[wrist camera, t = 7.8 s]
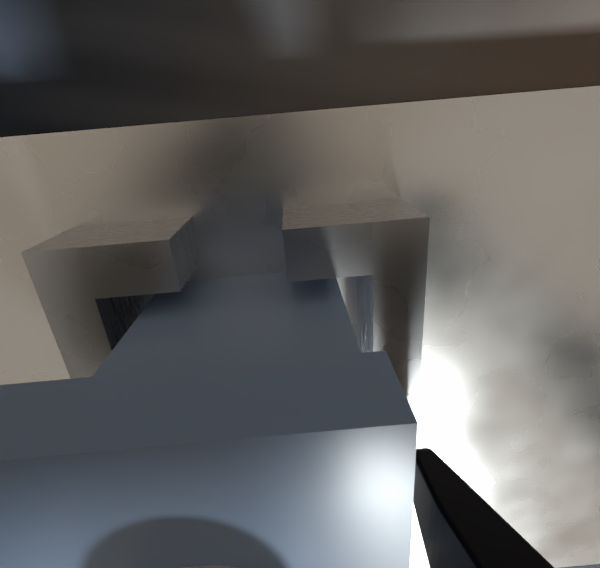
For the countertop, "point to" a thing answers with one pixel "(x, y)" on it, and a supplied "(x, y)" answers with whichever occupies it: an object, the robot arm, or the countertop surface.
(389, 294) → the chassis plate
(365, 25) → the countertop surface
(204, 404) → the block
